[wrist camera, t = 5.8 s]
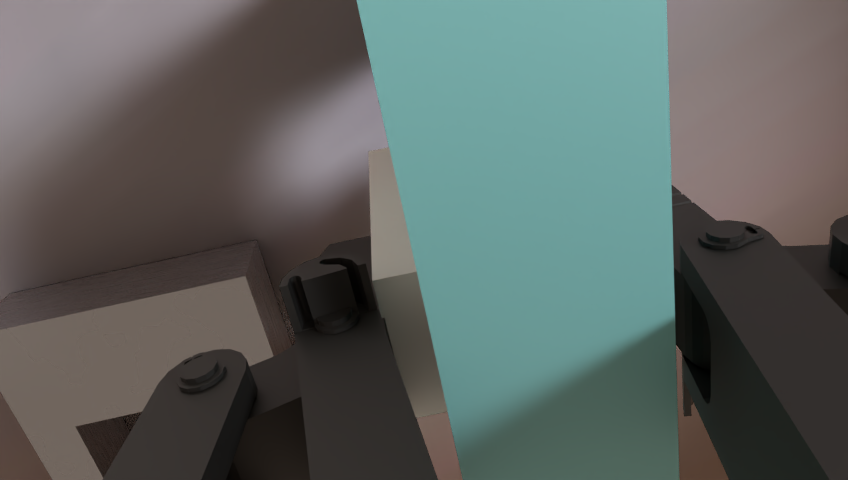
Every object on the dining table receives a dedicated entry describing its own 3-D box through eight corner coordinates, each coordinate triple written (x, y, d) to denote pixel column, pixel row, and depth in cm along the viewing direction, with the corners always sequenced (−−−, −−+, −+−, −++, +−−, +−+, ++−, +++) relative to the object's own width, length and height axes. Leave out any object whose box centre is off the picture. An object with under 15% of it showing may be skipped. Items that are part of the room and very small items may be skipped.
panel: (352, -75, 16) (335, -96, 6) (473, -101, 16) (662, -165, 6) (442, 343, 21) (512, 705, 11) (532, 324, 21) (685, 669, 11)
